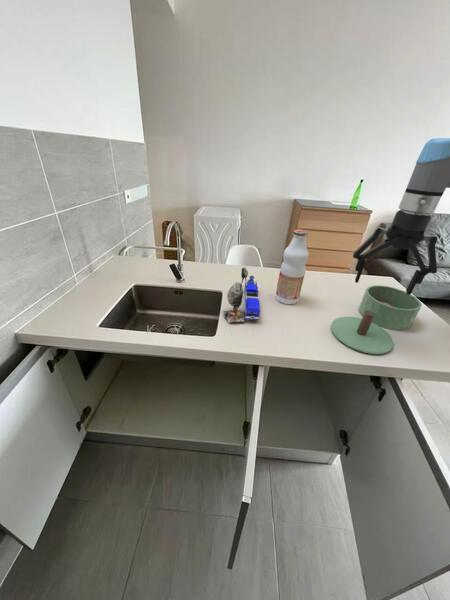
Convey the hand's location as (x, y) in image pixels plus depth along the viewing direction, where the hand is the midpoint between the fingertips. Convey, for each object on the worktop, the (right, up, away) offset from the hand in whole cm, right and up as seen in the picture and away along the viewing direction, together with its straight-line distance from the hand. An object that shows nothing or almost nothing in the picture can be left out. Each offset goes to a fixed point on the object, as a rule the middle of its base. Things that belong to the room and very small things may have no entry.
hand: (381, 286), depth 72 cm
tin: (+14, -10, +21) cm, 27 cm away
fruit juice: (-21, -4, +28) cm, 36 cm away
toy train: (-36, -2, +24) cm, 43 cm away
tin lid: (-1, -15, +9) cm, 18 cm away
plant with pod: (-43, -10, +16) cm, 47 cm away
